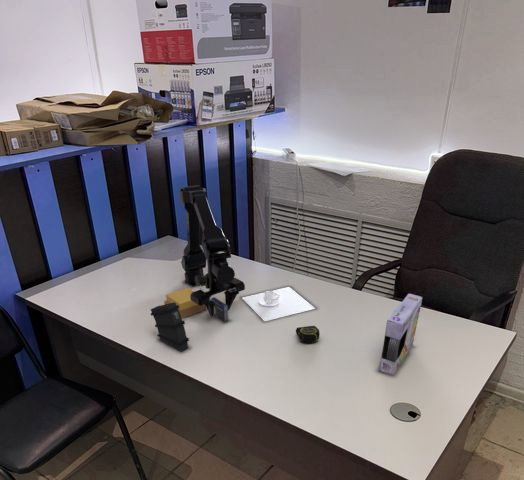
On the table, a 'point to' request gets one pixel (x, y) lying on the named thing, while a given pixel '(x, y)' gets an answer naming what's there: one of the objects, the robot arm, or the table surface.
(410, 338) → the cake pan box
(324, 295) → the table surface
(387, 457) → the table surface
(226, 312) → the mini dv tape
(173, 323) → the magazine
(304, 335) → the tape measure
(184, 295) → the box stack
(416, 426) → the table surface
